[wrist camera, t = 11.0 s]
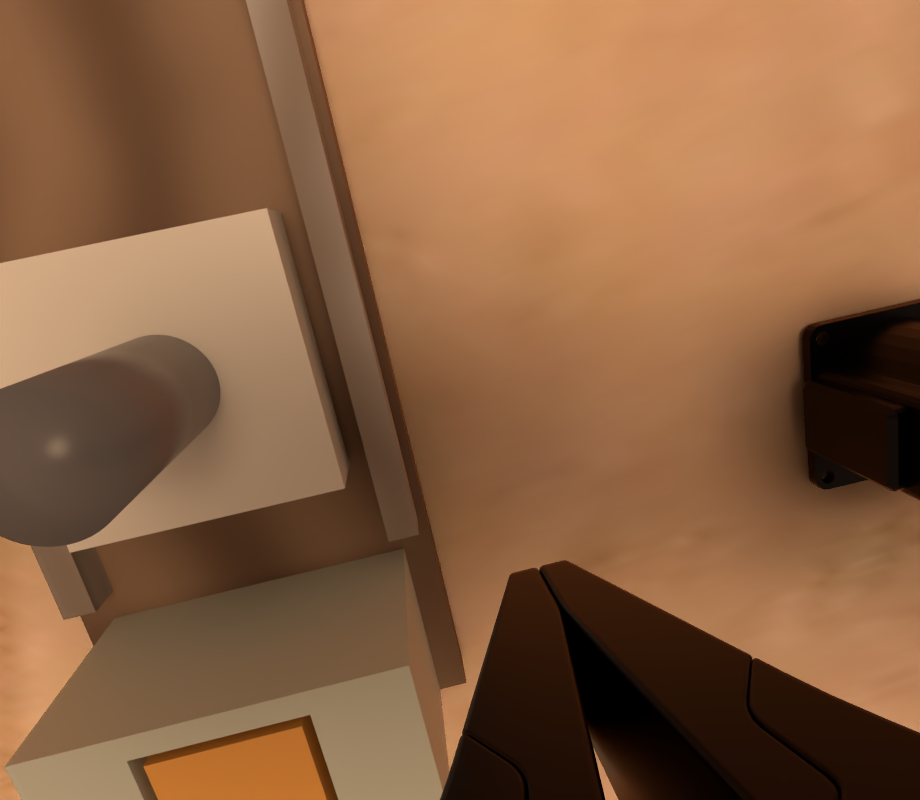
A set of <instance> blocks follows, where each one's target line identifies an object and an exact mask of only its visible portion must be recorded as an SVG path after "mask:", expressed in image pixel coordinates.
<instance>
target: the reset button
mask: <svg viewBox="0 0 920 800" xmlns="http://www.w3.org/2000/svg"><path fill="white" fill-rule="evenodd" d="M144 769H145V771H146V773H147V776H148V778H149V780H150V783H151V785H152V787H153V789H154V792H155V794H156V796H157V799H158V800H338V797H337V794H336V791H335V788H334V785H333V782H332V779H331V776H330V773H329V770H328V767H327V764H326V761H325V758H324V755H323V752H322V749H321V746H320V743H319V740H318V737H317V734H316V731H315V728H314V725H313V722H312V719H311V716H310V715H307V716H303V717H300V718H296V719H292V720H288V721H284V722H280V723H276V724H272V725H268V726H264V727H260V728H256V729H252V730H248V731H244V732H240V733H236V734H232V735H229V736H225V737H221V738H217V739H213V740H209V741H205V742H201V743H197V744H193V745H189V746H185V747H181V748H177V749H173V750H169V751H165V752H161V753H158V754H154V755H150V756H148V758H147V760H146V762H145V764H144Z"/></svg>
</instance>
